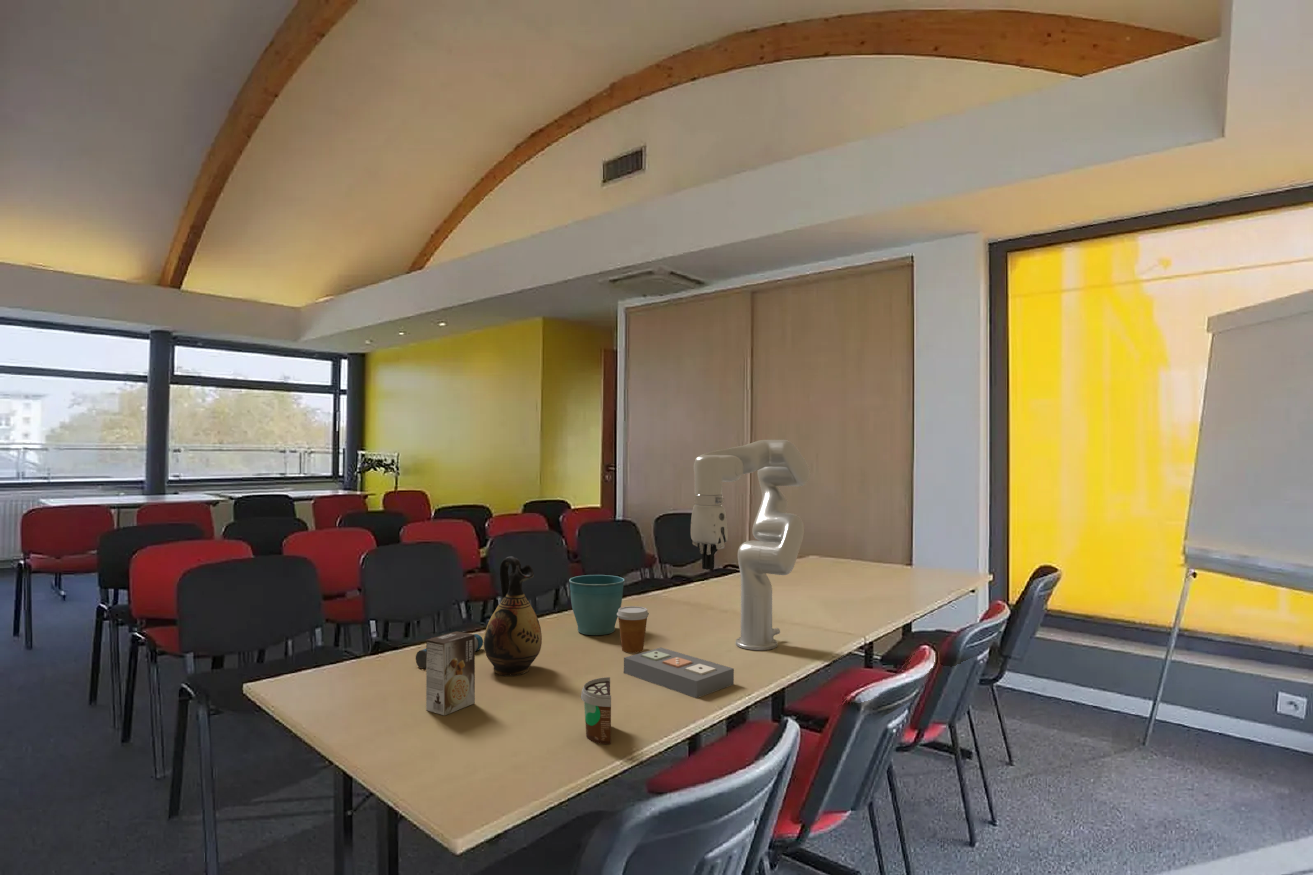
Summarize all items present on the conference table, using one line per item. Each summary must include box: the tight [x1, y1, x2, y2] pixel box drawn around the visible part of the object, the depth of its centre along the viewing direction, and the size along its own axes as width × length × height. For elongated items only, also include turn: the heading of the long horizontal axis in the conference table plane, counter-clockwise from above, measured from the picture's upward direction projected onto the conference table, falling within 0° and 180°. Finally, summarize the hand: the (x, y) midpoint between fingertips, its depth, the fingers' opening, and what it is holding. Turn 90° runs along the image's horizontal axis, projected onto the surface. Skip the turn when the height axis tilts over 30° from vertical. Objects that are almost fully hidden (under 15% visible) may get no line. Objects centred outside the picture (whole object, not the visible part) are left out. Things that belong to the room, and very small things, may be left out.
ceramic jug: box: [483, 555, 543, 677], centre depth 185 cm, size 17×15×30 cm
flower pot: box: [568, 574, 625, 636], centre depth 225 cm, size 18×18×17 cm
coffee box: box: [425, 631, 476, 716], centre depth 157 cm, size 9×6×16 cm
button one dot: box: [685, 664, 716, 675], centre depth 172 cm, size 5×5×4 cm
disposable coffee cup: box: [617, 605, 650, 654], centre depth 204 cm, size 10×10×12 cm
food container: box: [580, 676, 612, 745], centre depth 142 cm, size 12×6×10 cm, turn 5°
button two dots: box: [642, 651, 670, 661], centre depth 184 cm, size 5×5×4 cm
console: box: [623, 647, 735, 699], centre depth 178 cm, size 14×26×4 cm, turn 44°
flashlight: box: [415, 633, 484, 669], centre depth 195 cm, size 5×22×5 cm, turn 150°
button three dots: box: [663, 657, 692, 668], centre depth 178 cm, size 5×5×4 cm
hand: (708, 568), depth 187 cm, fingers closed
